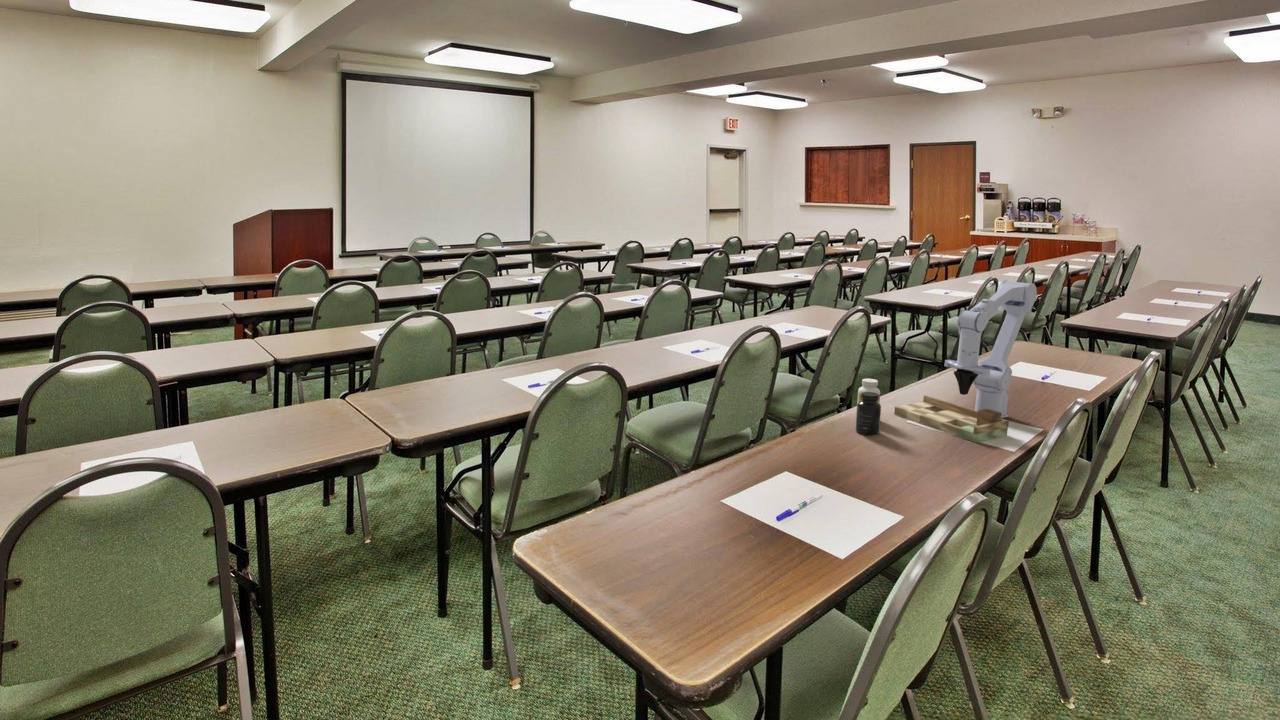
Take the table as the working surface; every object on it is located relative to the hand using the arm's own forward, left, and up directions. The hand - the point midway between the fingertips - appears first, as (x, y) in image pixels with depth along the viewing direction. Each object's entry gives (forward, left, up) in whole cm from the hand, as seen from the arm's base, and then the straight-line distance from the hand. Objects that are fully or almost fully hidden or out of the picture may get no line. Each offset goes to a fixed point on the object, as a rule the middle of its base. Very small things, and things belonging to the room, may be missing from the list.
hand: (963, 394), depth 217 cm
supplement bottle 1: (+22, -17, -10) cm, 30 cm away
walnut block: (0, +10, -7) cm, 12 cm away
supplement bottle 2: (+31, -8, -10) cm, 34 cm away
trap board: (+3, -2, -10) cm, 11 cm away
